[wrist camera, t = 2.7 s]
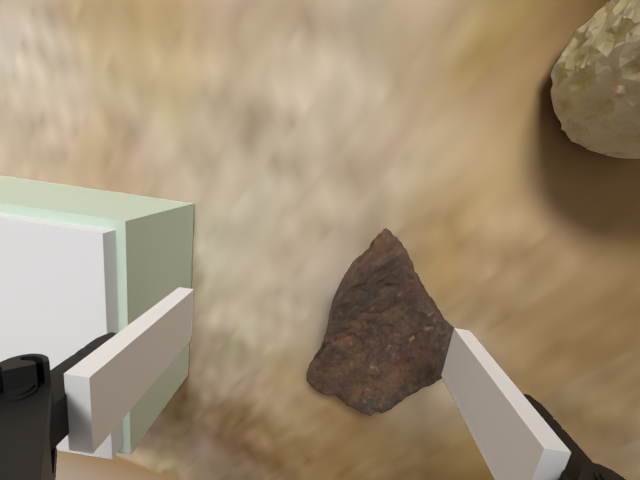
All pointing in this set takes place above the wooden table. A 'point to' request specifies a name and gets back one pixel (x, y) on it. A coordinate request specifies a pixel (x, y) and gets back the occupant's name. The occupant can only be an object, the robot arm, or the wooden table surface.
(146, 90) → the wooden table surface
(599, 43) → the decorative object
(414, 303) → the rock
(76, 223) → the scale
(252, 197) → the wooden table surface
